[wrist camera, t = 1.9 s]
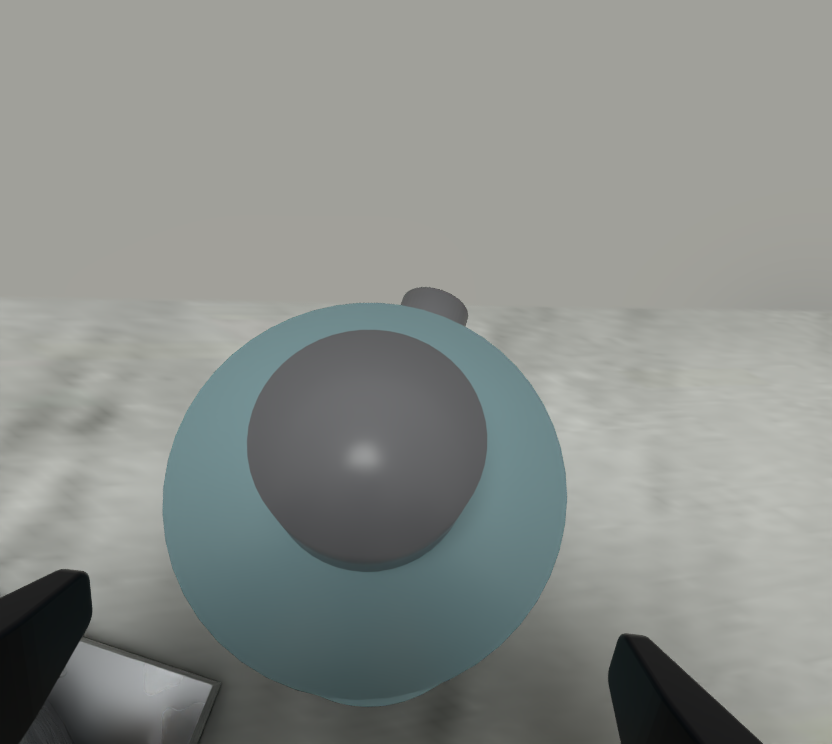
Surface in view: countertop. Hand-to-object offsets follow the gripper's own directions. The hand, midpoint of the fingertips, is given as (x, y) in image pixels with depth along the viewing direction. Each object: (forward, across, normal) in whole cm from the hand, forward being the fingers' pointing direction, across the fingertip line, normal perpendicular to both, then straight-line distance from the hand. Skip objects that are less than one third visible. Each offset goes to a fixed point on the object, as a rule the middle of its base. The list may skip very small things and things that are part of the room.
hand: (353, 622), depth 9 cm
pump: (+8, 0, +5) cm, 10 cm away
